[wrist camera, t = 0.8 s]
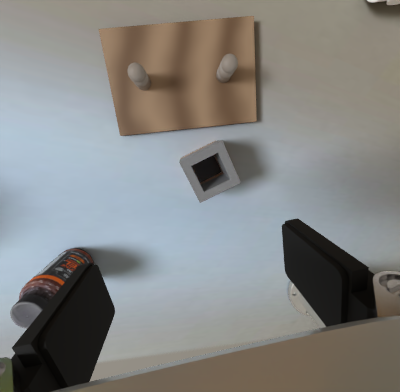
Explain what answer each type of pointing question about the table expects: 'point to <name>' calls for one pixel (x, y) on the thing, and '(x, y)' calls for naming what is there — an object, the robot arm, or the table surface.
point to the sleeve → (217, 182)
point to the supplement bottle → (46, 286)
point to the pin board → (181, 74)
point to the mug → (390, 1)
